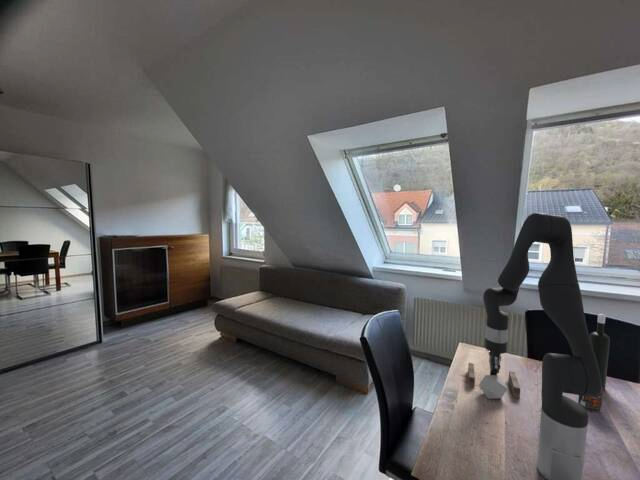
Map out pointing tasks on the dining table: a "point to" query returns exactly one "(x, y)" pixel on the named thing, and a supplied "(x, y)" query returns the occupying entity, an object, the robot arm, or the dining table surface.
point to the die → (493, 386)
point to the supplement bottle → (591, 402)
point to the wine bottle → (601, 347)
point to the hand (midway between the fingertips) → (493, 379)
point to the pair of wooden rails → (512, 380)
